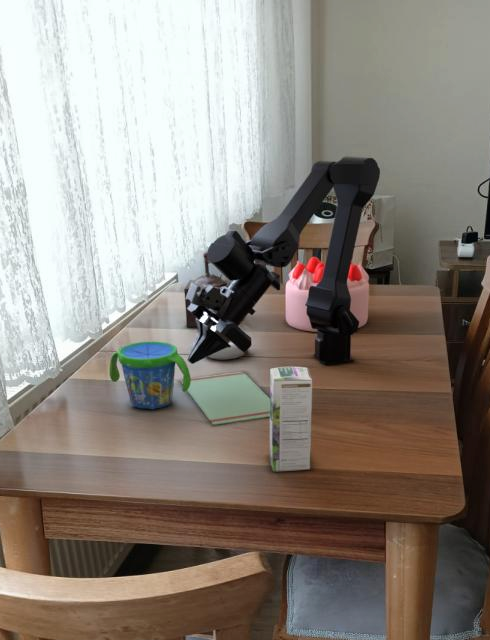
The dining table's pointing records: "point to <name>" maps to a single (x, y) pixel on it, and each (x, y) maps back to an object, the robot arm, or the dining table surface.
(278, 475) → the dining table surface
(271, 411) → the syrup box
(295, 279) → the cake
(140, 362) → the snack cup
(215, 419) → the green flat piece
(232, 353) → the donut
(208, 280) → the manual coffee grinder
